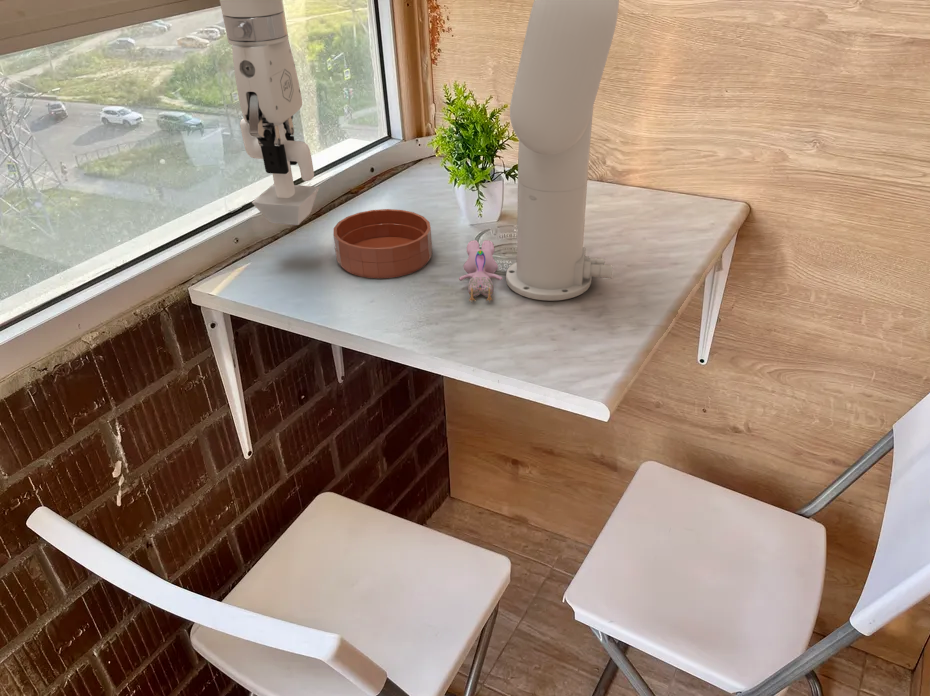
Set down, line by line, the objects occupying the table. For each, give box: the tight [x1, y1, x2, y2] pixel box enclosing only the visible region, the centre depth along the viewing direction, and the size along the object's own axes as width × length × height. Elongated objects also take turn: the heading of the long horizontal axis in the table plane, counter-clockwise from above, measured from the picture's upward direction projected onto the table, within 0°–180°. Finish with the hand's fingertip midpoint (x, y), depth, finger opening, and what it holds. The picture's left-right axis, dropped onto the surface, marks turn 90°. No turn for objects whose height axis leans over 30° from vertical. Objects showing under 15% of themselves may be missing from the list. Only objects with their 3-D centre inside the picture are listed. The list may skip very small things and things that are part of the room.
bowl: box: [332, 208, 433, 279], centre depth 118 cm, size 15×15×5 cm
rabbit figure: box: [458, 239, 503, 303], centre depth 112 cm, size 6×6×15 cm
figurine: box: [239, 117, 320, 226], centre depth 109 cm, size 7×9×15 cm
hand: (282, 167), depth 109 cm, fingers closed on figurine, 2 cm apart
